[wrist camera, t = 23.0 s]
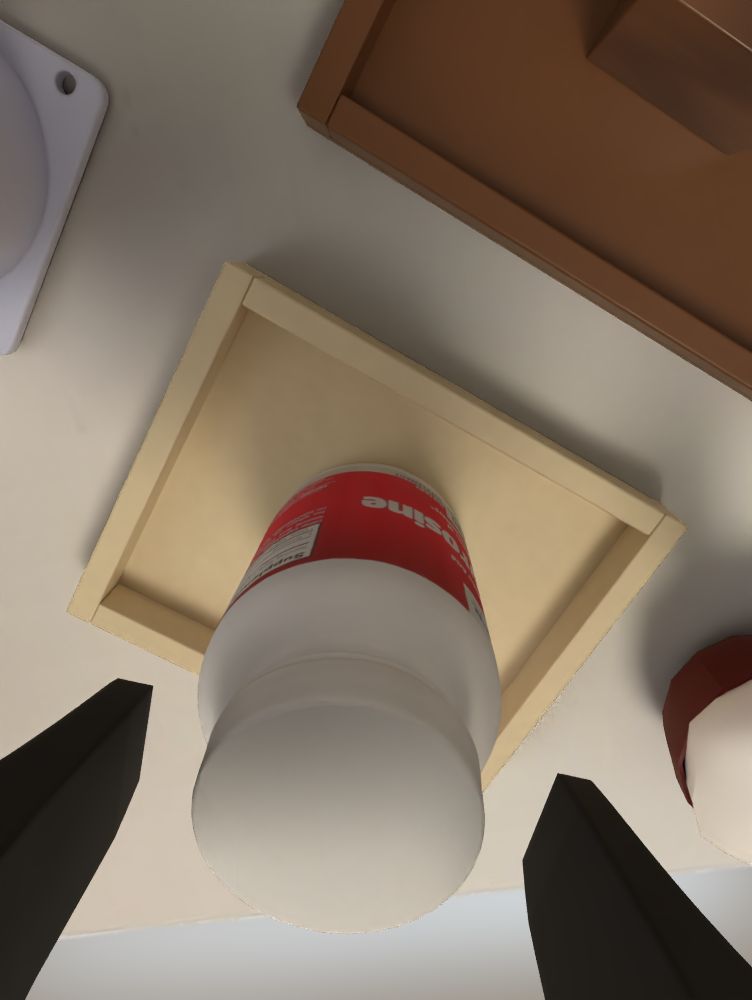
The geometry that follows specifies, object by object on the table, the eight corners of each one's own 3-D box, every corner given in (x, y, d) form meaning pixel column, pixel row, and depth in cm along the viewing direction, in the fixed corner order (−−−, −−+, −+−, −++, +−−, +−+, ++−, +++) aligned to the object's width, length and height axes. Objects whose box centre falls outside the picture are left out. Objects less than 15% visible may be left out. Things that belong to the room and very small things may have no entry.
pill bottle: (502, 570, 21) (610, 866, 10) (350, 668, 22) (310, 1019, 12) (384, 415, 19) (372, 579, 9) (229, 531, 21) (58, 791, 10)
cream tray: (93, 583, 22) (65, 612, 20) (243, 261, 19) (225, 259, 17) (466, 765, 24) (472, 807, 22) (662, 504, 21) (689, 527, 19)
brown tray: (305, 125, 17) (295, 106, 16) (610, -531, 13) (645, -664, 12) (770, 412, 20) (811, 427, 18) (1151, -82, 16) (1257, -131, 14)
